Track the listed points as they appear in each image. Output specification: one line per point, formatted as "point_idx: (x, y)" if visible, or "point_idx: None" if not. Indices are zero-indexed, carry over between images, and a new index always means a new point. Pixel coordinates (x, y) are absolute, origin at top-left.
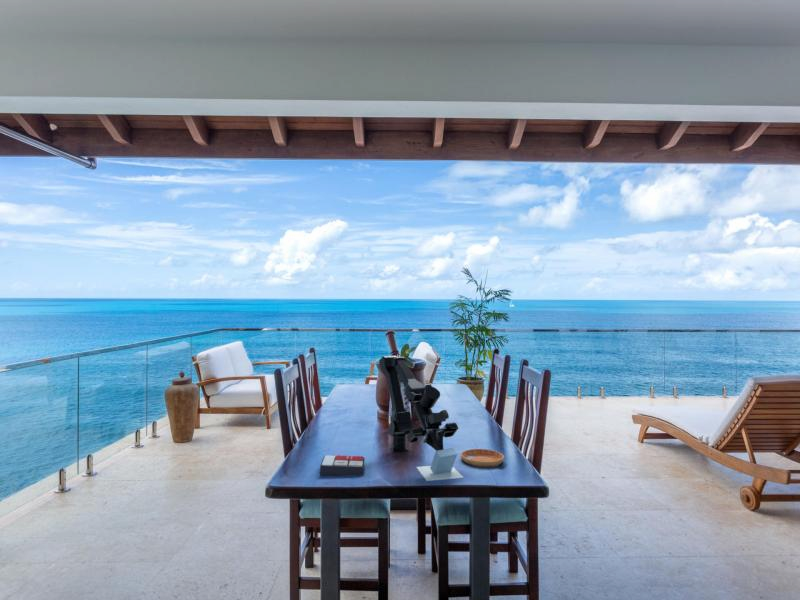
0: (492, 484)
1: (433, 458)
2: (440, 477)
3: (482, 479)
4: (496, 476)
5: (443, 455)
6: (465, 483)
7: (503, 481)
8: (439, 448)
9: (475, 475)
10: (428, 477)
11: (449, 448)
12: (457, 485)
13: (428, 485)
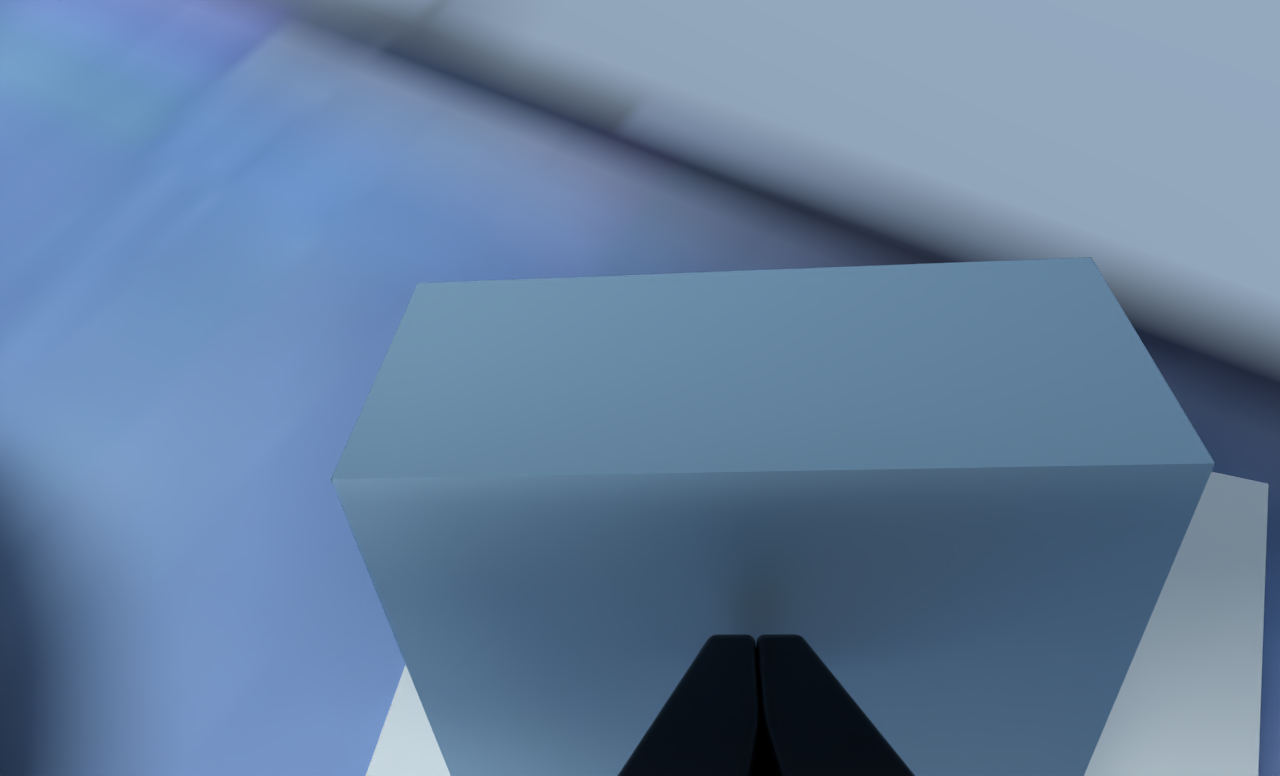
0: (313, 45)
1: (1109, 702)
2: None
3: (286, 226)
4: (28, 236)
5: (932, 288)
6: (616, 203)
7: (114, 68)
8: (871, 727)
9: (245, 402)
10: (1163, 626)
11: (499, 471)
12: (776, 188)
13: (1258, 373)
